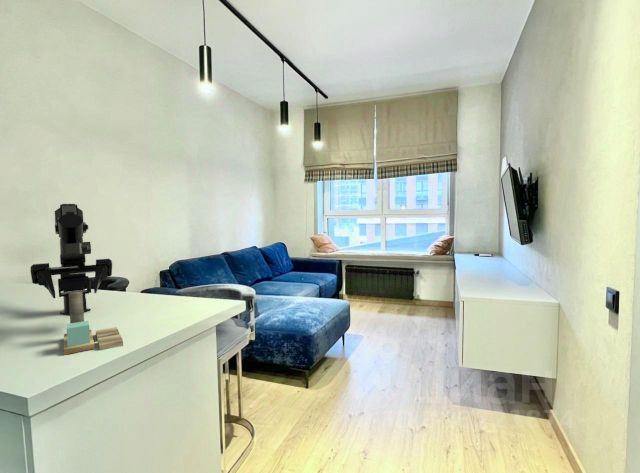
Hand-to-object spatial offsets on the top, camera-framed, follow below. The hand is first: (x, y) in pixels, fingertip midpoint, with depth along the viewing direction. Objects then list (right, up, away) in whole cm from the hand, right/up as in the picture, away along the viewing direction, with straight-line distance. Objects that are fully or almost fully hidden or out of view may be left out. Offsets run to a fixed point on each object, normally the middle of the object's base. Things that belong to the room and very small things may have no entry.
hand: (75, 294), depth 96 cm
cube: (+7, -10, -9) cm, 15 cm away
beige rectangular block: (+11, -11, -4) cm, 16 cm away
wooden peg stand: (+5, -11, -6) cm, 14 cm away
